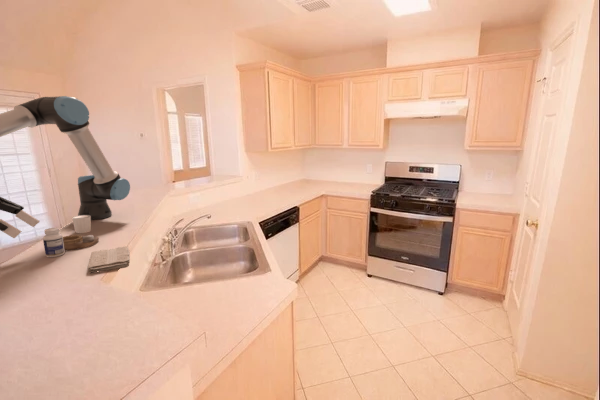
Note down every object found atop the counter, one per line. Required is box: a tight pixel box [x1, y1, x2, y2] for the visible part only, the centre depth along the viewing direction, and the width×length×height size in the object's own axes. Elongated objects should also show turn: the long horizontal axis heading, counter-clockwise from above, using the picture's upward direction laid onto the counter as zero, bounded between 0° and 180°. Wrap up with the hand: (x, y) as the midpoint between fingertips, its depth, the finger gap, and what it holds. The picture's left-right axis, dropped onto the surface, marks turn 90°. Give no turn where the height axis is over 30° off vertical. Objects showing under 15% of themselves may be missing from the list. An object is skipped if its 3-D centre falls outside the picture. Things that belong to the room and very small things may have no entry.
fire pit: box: [63, 234, 99, 251], centre depth 115 cm, size 14×14×3 cm
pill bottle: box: [42, 227, 66, 258], centre depth 103 cm, size 5×5×10 cm
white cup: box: [71, 215, 92, 234], centre depth 131 cm, size 7×7×7 cm
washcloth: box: [87, 245, 131, 274], centre depth 100 cm, size 12×18×3 cm, turn 33°
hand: (28, 229), depth 99 cm, fingers open, 13 cm apart
